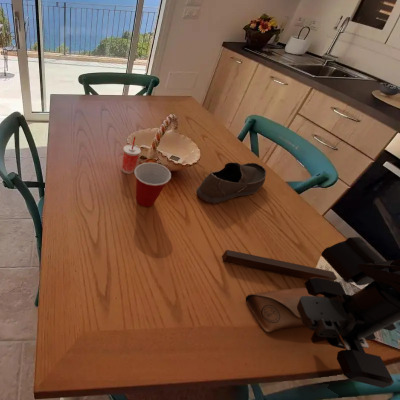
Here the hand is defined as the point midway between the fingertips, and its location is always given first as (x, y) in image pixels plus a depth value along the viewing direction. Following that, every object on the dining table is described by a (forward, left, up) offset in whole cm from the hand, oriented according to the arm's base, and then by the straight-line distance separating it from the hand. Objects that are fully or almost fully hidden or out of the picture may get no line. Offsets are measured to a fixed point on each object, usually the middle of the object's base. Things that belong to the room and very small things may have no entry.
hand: (314, 341), depth 56 cm
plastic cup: (+36, +37, -2) cm, 52 cm away
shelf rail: (+18, +2, -2) cm, 19 cm away
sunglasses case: (+7, +2, -2) cm, 7 cm away
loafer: (+51, +7, -2) cm, 52 cm away
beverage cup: (+52, +44, -2) cm, 68 cm away
